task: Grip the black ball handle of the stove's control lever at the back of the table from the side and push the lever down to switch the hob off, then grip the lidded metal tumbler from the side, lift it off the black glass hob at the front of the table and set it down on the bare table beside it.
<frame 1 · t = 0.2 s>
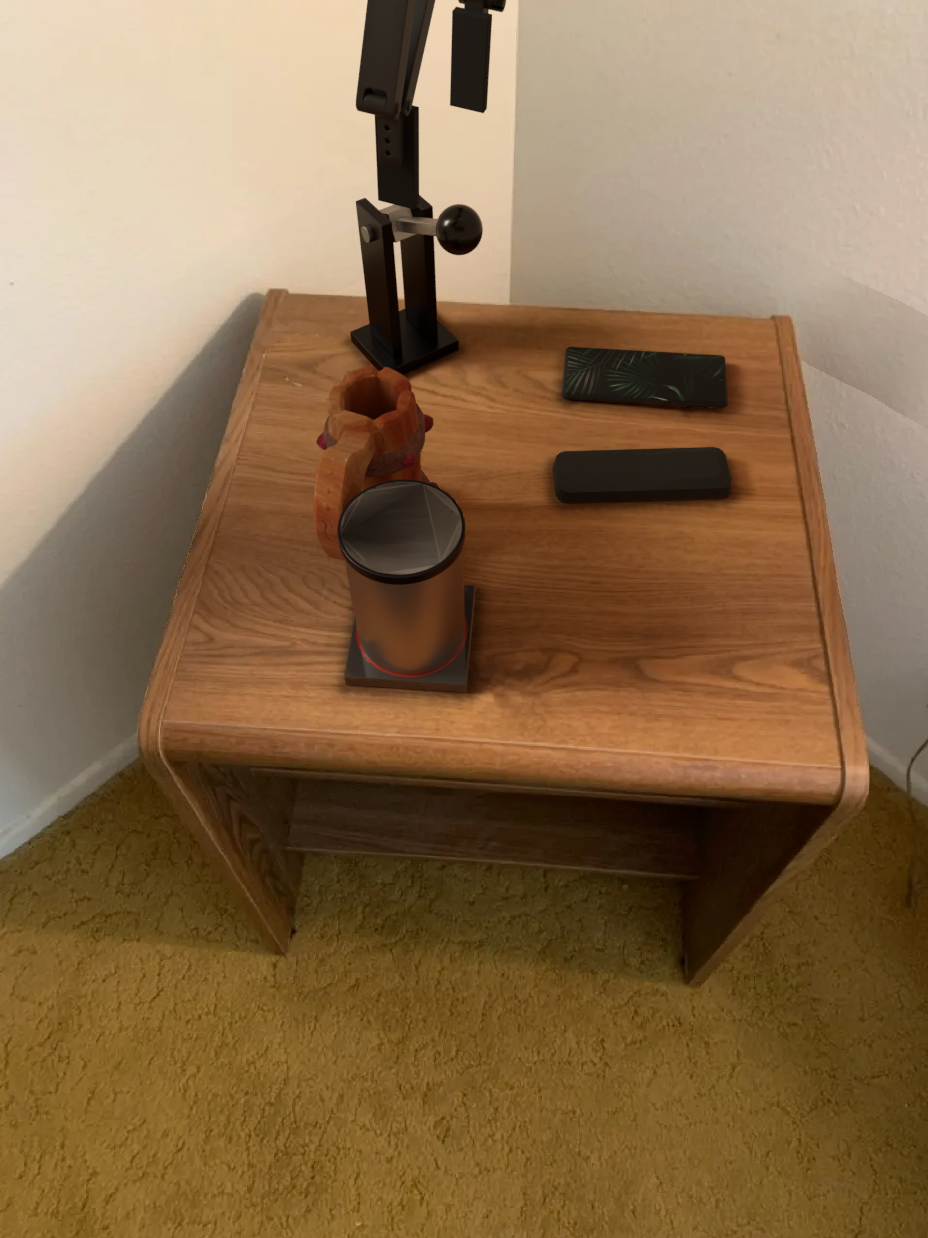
hand: (435, 152, 67), 23 cm above the table, tool pointing down, fingers open, 13 cm apart
lidded metal tumbler: (411, 629, 70), point 1 cm above the table, touching hob
remote control: (640, 481, 80), on the table
smartphone: (642, 383, 87), on the table
lever: (426, 226, 75), point 15 cm above the table, hinge at 25.0°
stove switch: (404, 345, 90), on the table
hob: (412, 638, 71), on the table
mug: (377, 550, 76), on the table
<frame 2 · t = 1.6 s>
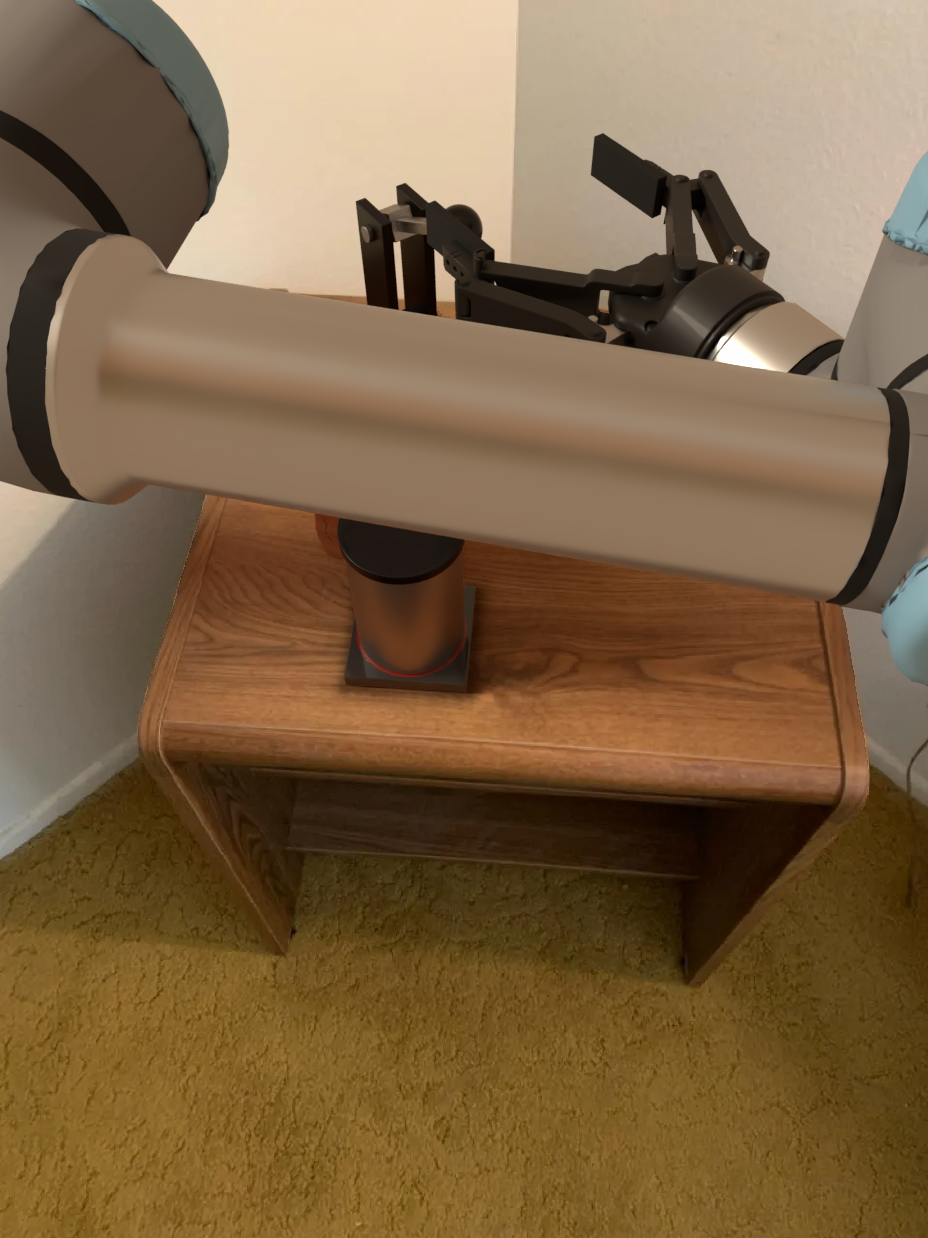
hand: (516, 186, 61), 25 cm above the table, tool horizontal, fingers open, 13 cm apart
nothing on the table moved.
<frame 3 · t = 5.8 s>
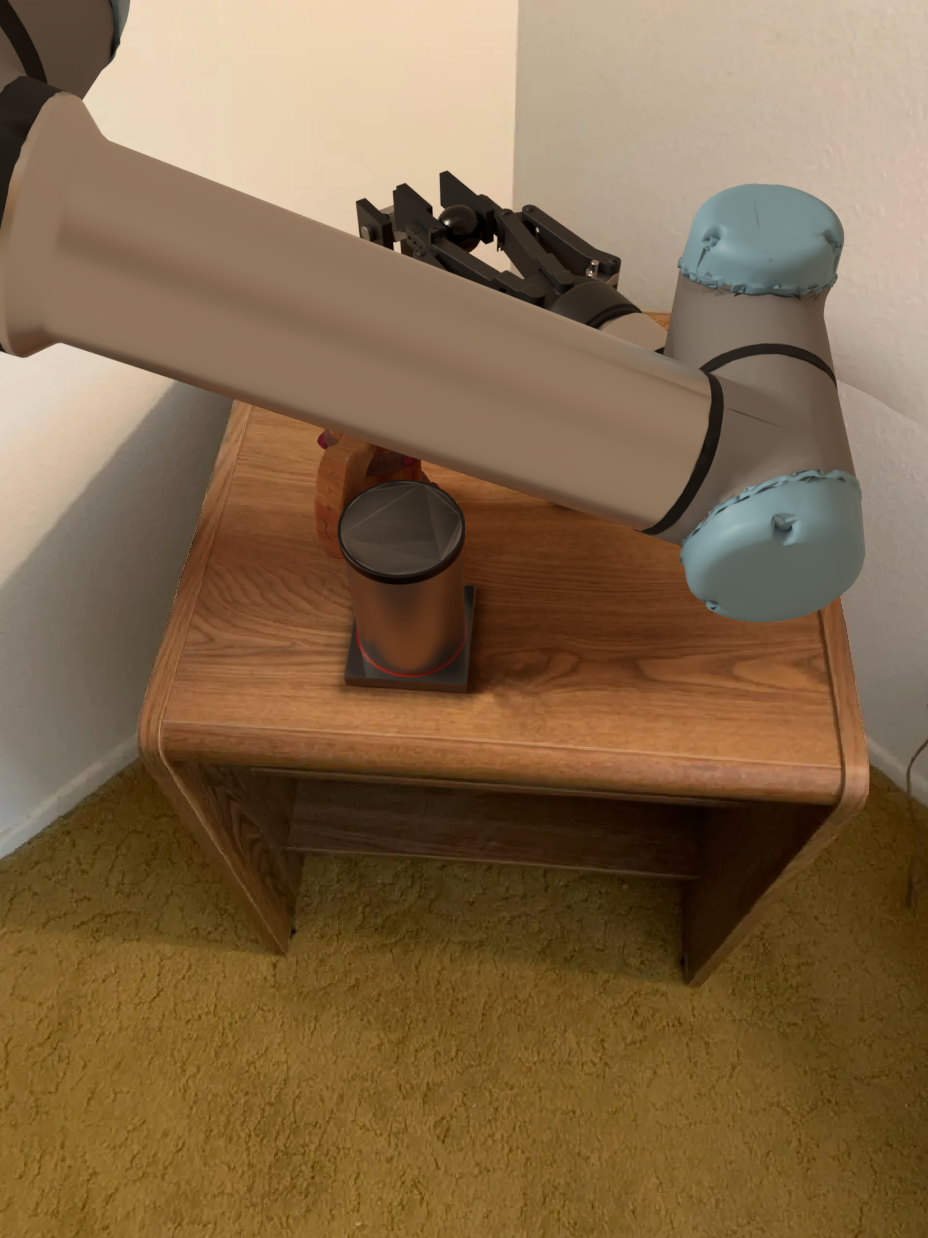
hand: (421, 196, 73), 18 cm above the table, tool horizontal, fingers closed on lever, 4 cm apart
lever: (426, 226, 75), point 15 cm above the table, hinge at 25.0°, touching gripper
everything else where it was.
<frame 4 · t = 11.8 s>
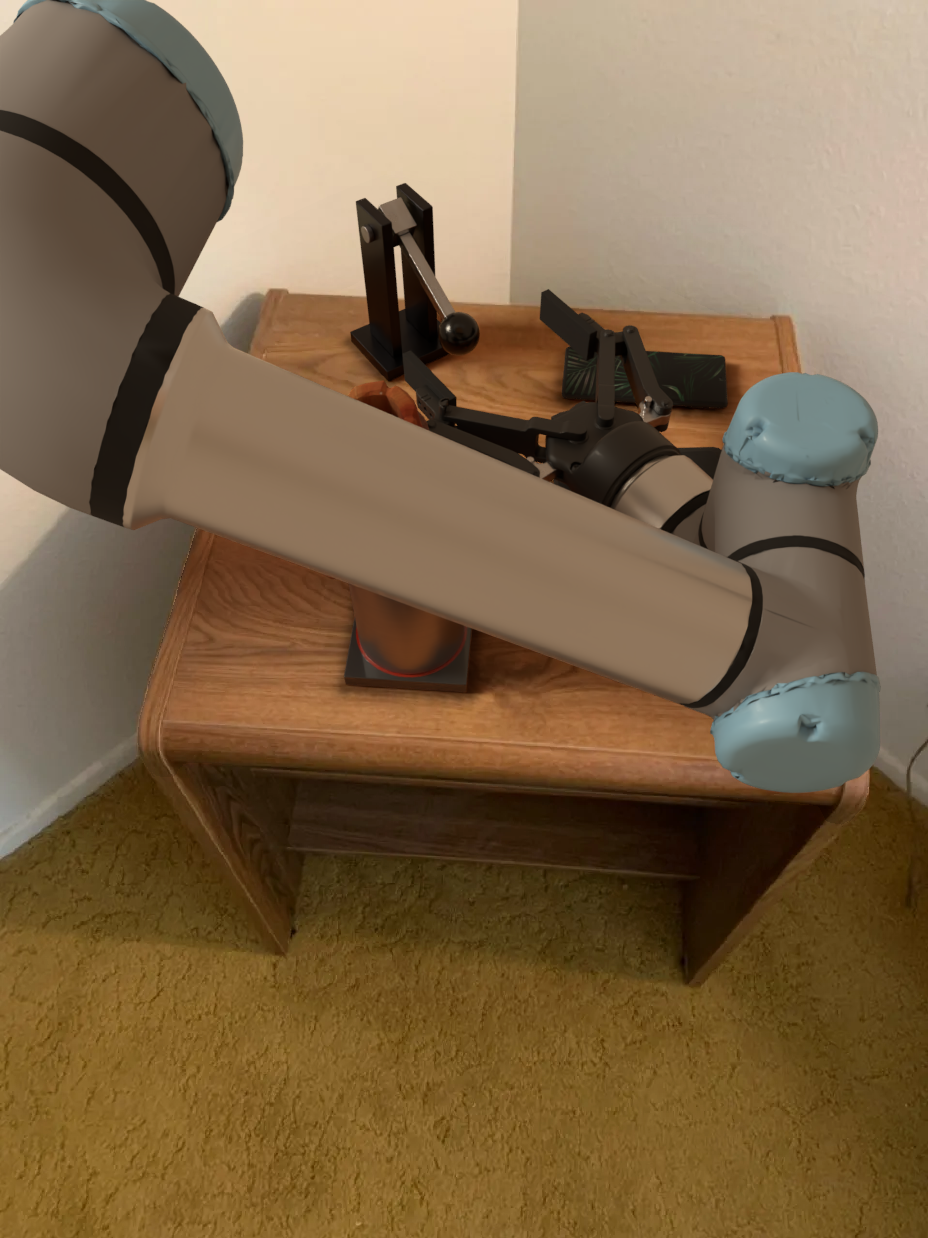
hand: (477, 333, 76), 10 cm above the table, tool horizontal, fingers open, 13 cm apart
lidded metal tumbler: (411, 629, 70), point 1 cm above the table, touching hob, mug
lever: (428, 280, 79), point 10 cm above the table, hinge at -28.4°
mug: (382, 547, 76), on the table, touching hand, lidded metal tumbler
everything else where it was.
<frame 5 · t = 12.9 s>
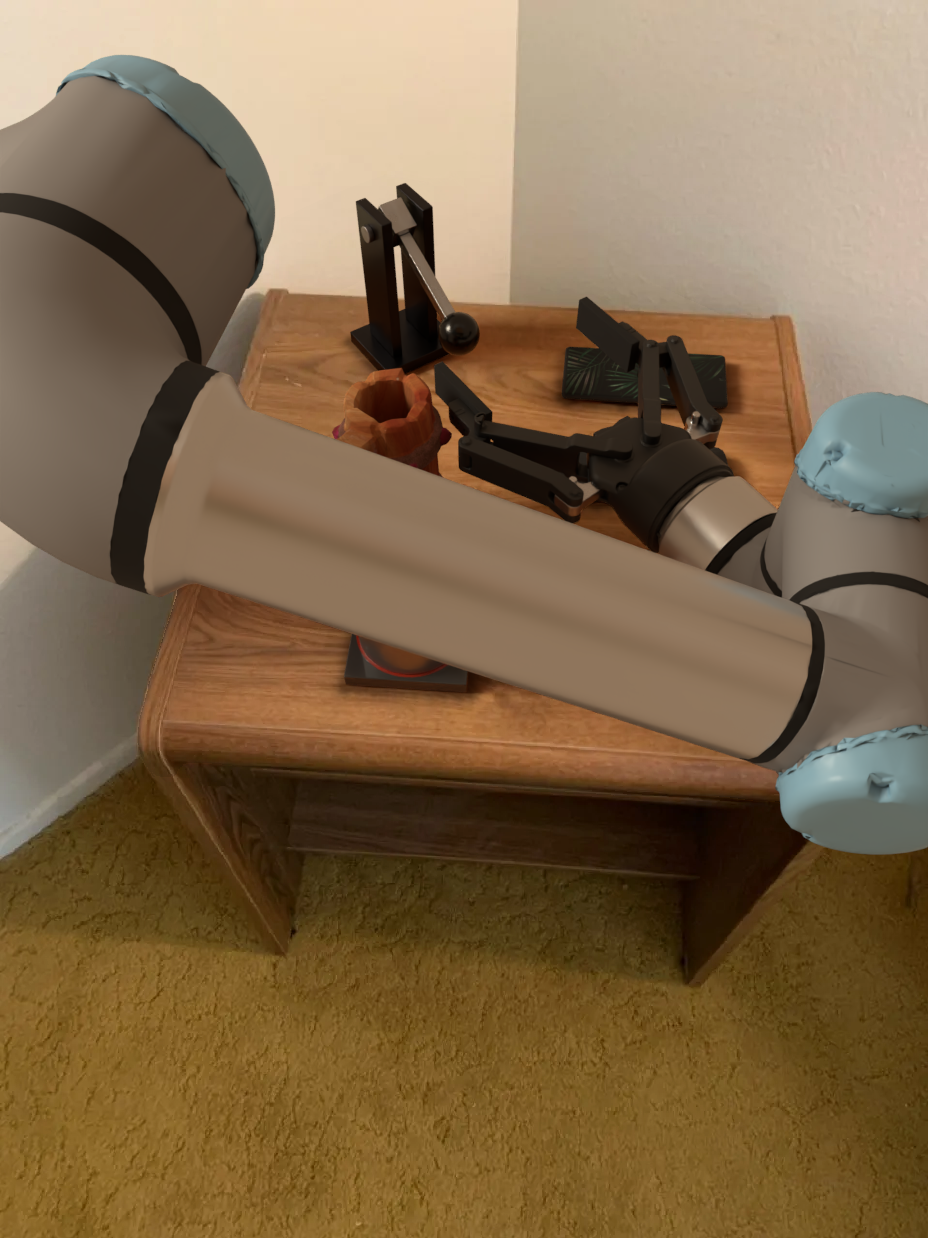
hand: (511, 343, 72), 12 cm above the table, tool horizontal, fingers open, 13 cm apart
lidded metal tumbler: (411, 629, 70), point 1 cm above the table, touching hob
mug: (385, 549, 76), on the table, touching gripper
everything else where it was.
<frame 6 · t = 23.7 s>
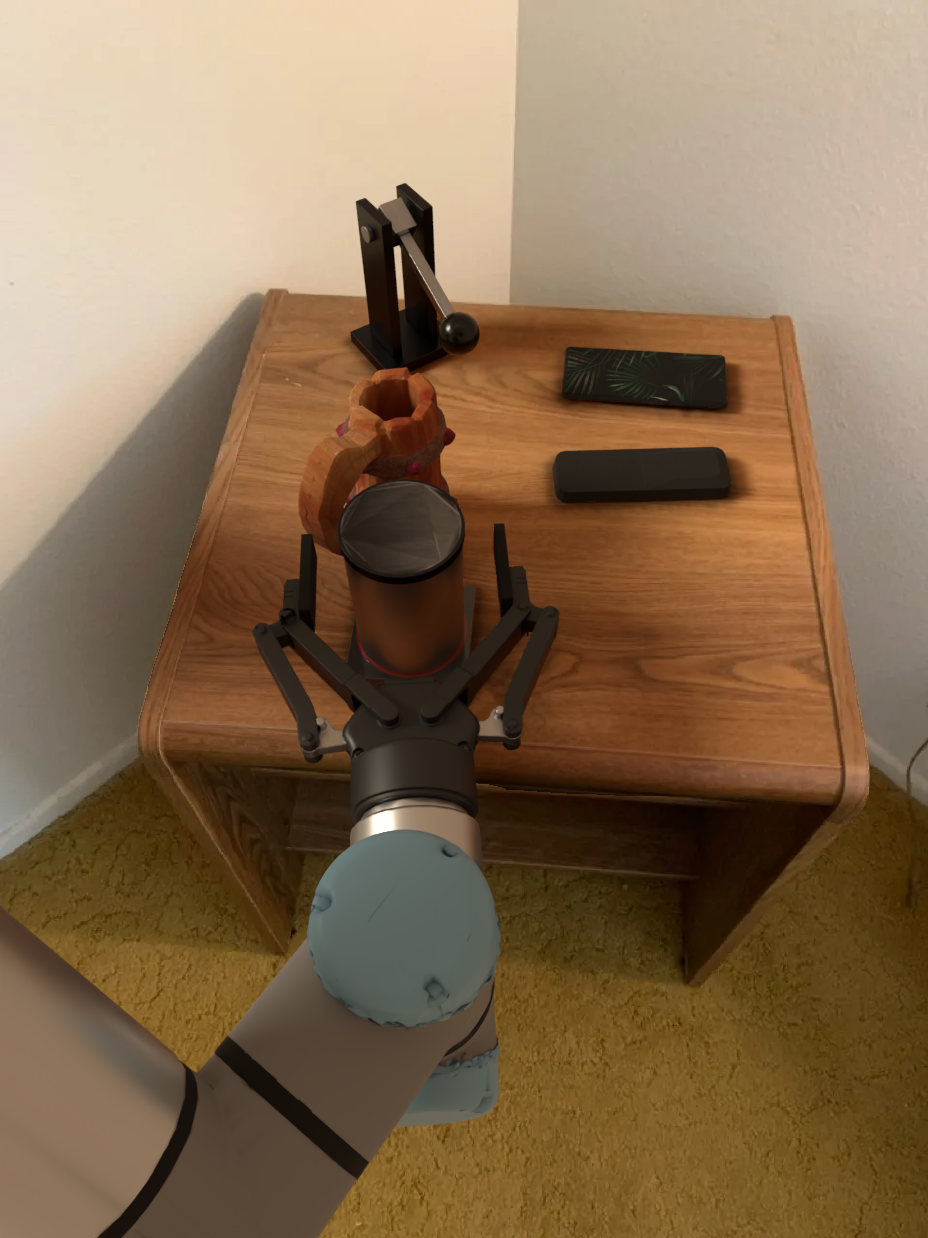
hand: (404, 540, 66), 8 cm above the table, tool horizontal, fingers open, 13 cm apart
mug: (385, 549, 76), on the table, touching gripper
everything else where it was.
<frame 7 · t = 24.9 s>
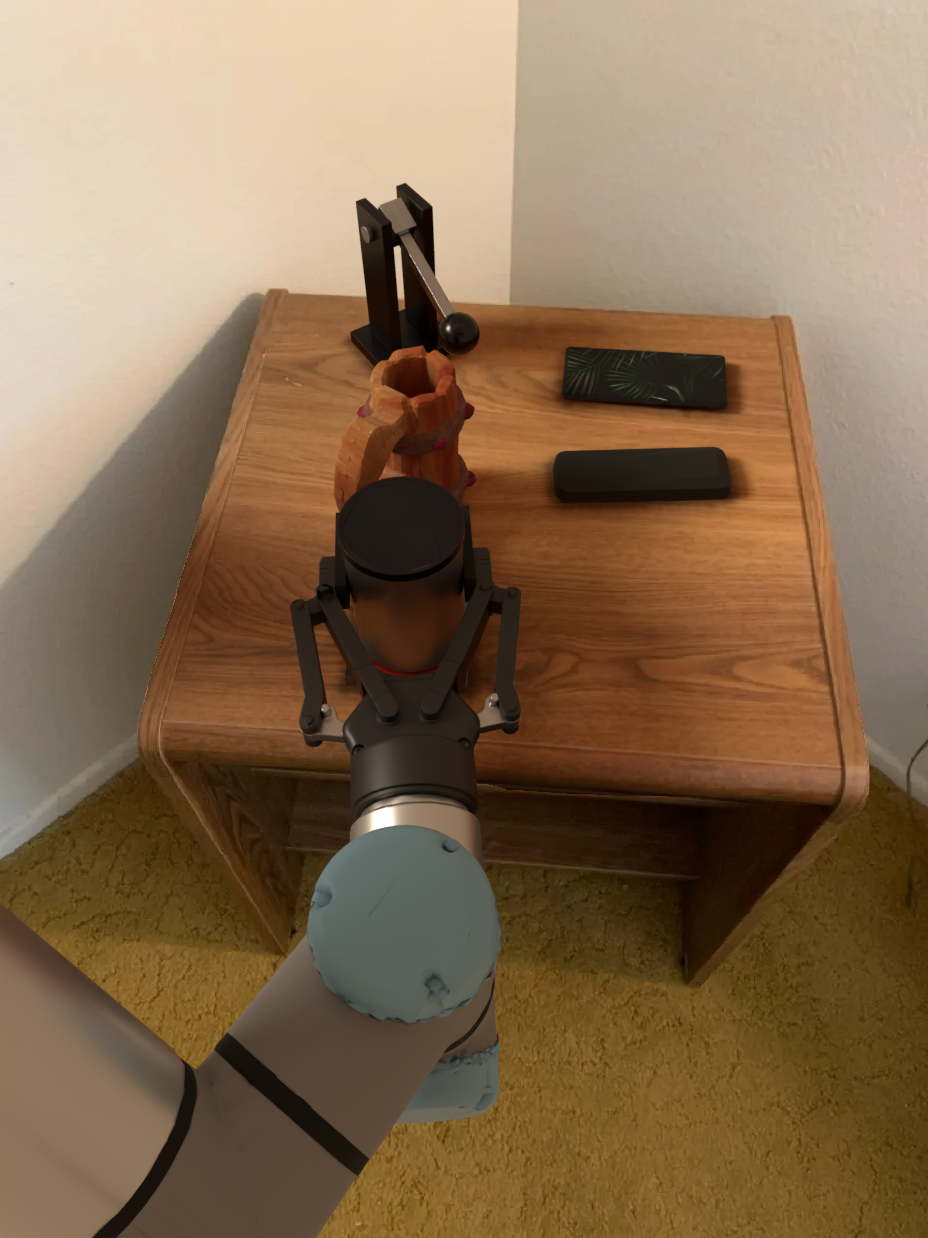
hand: (403, 521, 67), 8 cm above the table, tool horizontal, fingers closed on lidded metal tumbler, 8 cm apart
lidded metal tumbler: (411, 627, 69), point 1 cm above the table, touching gripper
mug: (406, 528, 77), on the table, touching gripper
everything else where it was.
when the fingers open (7 cm above the table, at t = 34.3 s): lidded metal tumbler stays where it is, on the table.
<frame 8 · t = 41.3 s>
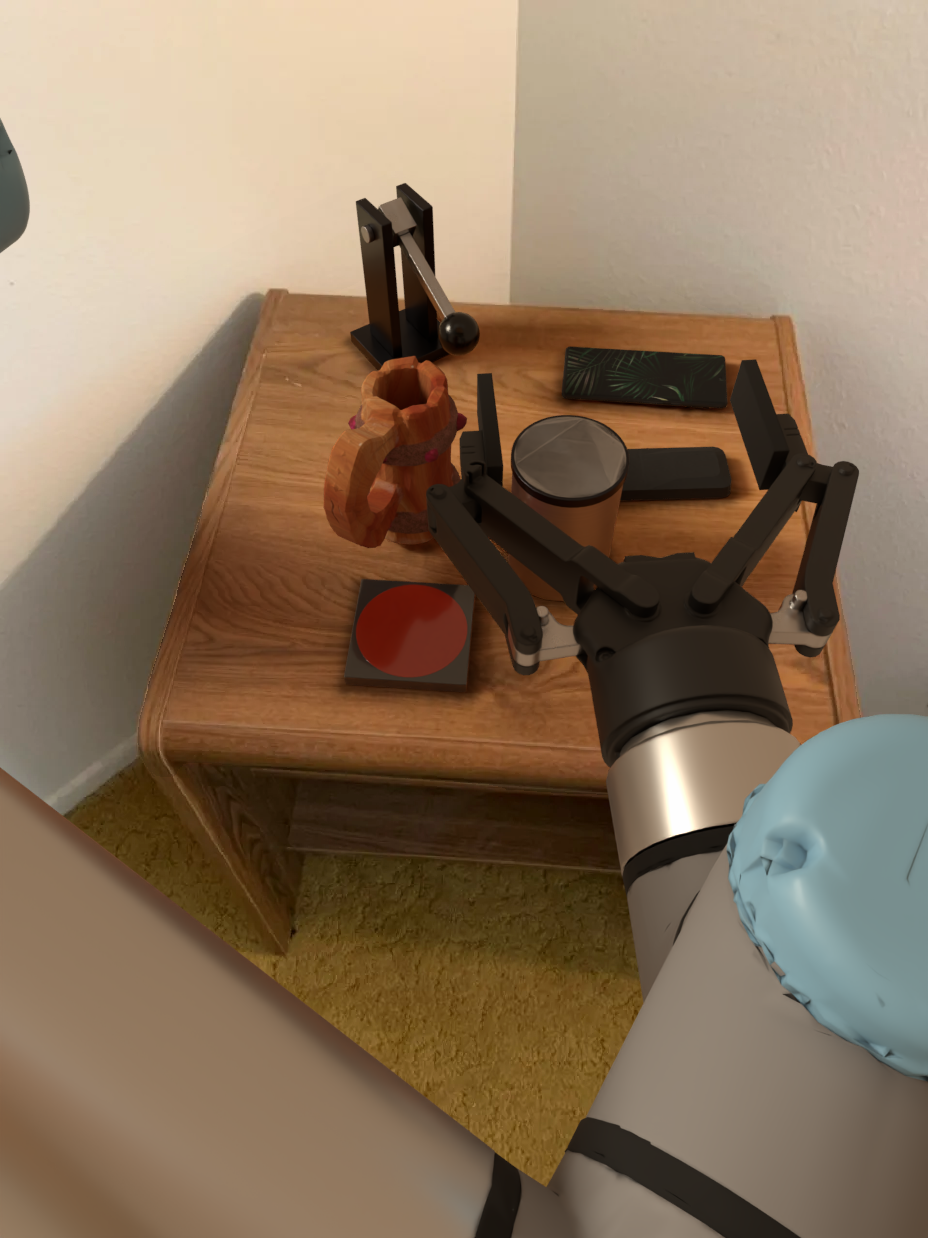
hand: (613, 386, 48), 26 cm above the table, tool horizontal, fingers open, 13 cm apart
lidded metal tumbler: (557, 561, 75), on the table
mug: (399, 538, 76), on the table
everything else where it was.
at the end: lever at -28° (first picture: +25°); lidded metal tumbler inside the target area (0.0 cm from its centre), on the table; lidded metal tumbler tilted 0° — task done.
